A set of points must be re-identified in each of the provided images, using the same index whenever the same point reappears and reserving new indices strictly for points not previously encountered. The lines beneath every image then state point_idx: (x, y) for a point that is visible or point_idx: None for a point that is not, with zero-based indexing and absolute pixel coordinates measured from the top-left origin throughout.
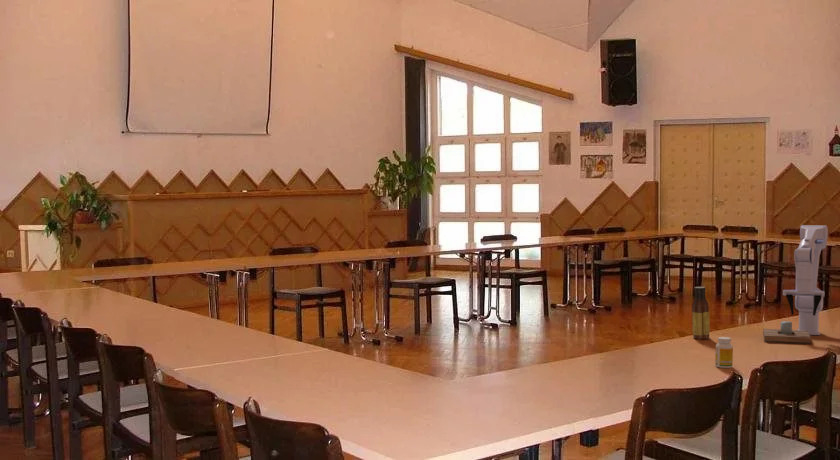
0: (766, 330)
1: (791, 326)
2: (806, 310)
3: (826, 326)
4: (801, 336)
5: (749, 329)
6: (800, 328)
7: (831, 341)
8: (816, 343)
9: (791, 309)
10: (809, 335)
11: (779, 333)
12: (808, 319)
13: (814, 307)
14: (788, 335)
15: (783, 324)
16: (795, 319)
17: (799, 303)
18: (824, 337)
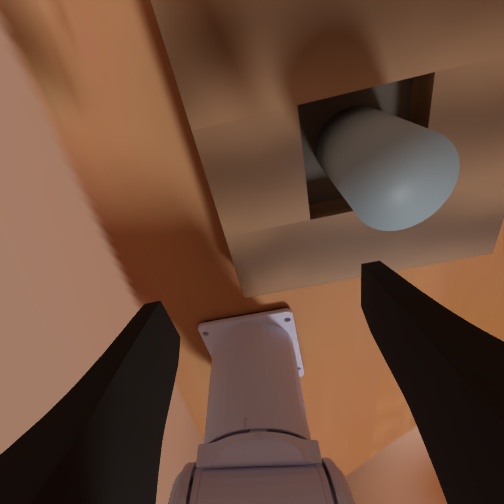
0: (491, 195)
1: (344, 162)
2: (266, 446)
3: None
4: (237, 20)
5: (495, 331)
6: (286, 345)
7: (95, 206)
8: (140, 79)
9: (418, 292)
10: (189, 119)
11: None
12: (250, 385)
13: (110, 374)
14: (352, 19)
15: (429, 129)
16: None
17: (321, 501)
18: (169, 295)
